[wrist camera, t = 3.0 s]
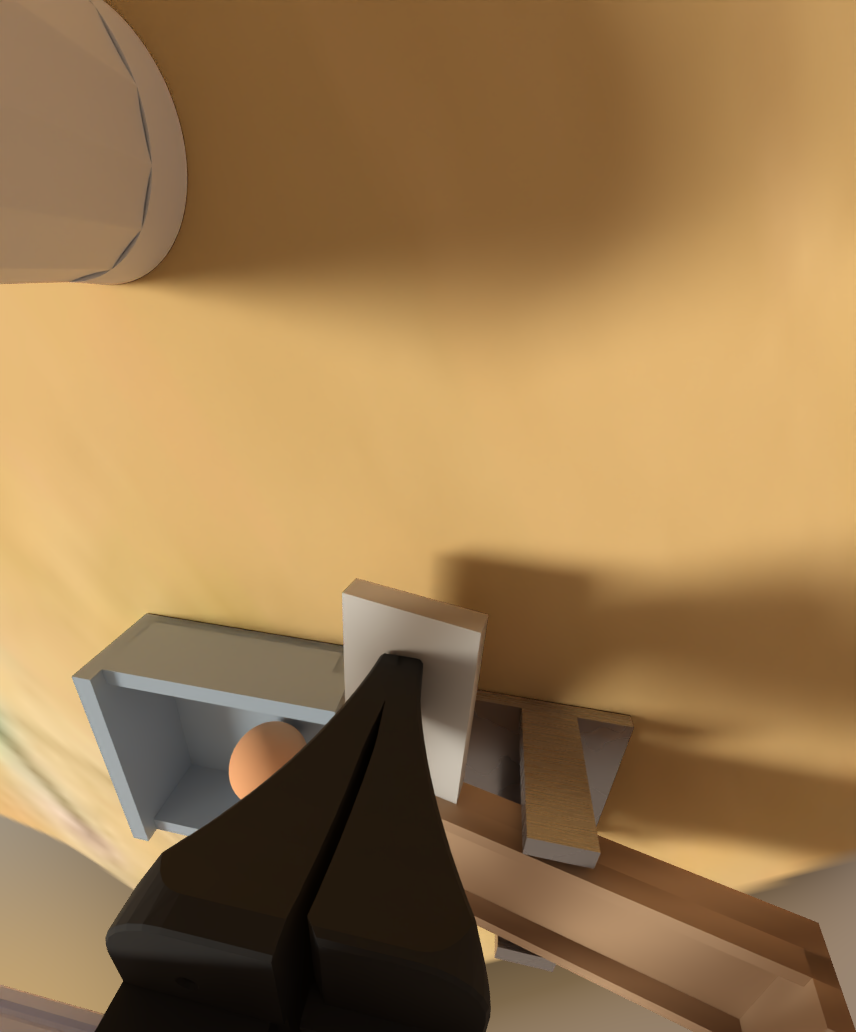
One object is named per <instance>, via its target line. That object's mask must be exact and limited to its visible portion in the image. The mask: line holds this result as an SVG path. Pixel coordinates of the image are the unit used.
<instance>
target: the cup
mask: <svg viewBox="0 0 856 1032" xmlns="http://www.w3.org/2000/svg"><path fill="white" fill-rule="evenodd" d="M186 196H187V162H186V152H185V146H184V140H183V135H182V130H181V126H180V122H179V119H178V115H177V112H176V109H175V106H174V103H173V100H172V98H171V95H170V93H169V90H168V88H167V86H166V83H165V81H164V79H163V77H162V75H161V73H160V71H159V69H158V67H157V65H156V63H155V62H154V60H153V58H152V57H151V55H150V53H149V52H148V50H147V49H146V47H145V46H144V44H143V43H142V41H141V40H140V39H139V37H138V36H137V35H136V33H135V32H134V31H133V30H132V28H131V27H130V26H129V25H128V24H127V22H126V21H125V20H124V19H123V18H122V17H121V16H120V15H119V14H118V13H117V12H116V11H115V10H114V9H113V8H112V7H111V6H109V5H108V4H107V3H106V2H105V1H103V0H0V284H18V283H53V282H75V283H90V284H106V285H114V284H122V283H127V282H131V281H134V280H136V279H138V278H140V277H142V276H144V275H146V274H147V273H149V272H150V271H152V270H153V269H154V268H155V267H156V266H157V265H158V264H159V263H160V262H161V261H162V260H163V259H164V257H165V256H166V255H167V253H168V252H169V250H170V249H171V247H172V245H173V243H174V241H175V239H176V237H177V235H178V232H179V229H180V226H181V223H182V219H183V215H184V210H185V204H186Z"/></svg>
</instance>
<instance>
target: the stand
mask: <svg viewBox="0 0 856 1032" xmlns="http://www.w3.org/2000/svg"><path fill="white" fill-rule="evenodd" d="M633 729H634V726H633V723H632V719H631V716H628V715H622V714H616V713H610V712H604V711H598V710H592V709H586V708H581V707H575V706H569V705H563V704H557V703H551V702H545V701H540V700H534V699H528V698H522V697H516V696H510V695H504V694H499V693H493V692H487V691H481V690H477V695H476V701H475V708H474V715H473V721H472V728H471V735H470V741H469V748H468V755H467V762H466V768H465V775H464V782H465V783H467V784H470V785H472V786H475V787H477V788H480V789H482V790H485V791H487V792H490V793H493V794H495V795H498V796H500V797H503V798H505V799H508V800H510V801H513V802H515V803H518V804H520V805H521V815H522V848H523V854H526V855H530V856H535V857H540V858H545V859H549V860H554V861H559V862H563V863H568V864H573V865H578V866H582V867H587V868H592V869H594V868H595V866H596V863H597V861H598V858H599V856H600V853H601V852H600V846H599V840H598V835H597V829H596V826H597V824H598V821H599V818H600V816H601V813H602V810H603V808H604V805H605V803H606V800H607V797H608V795H609V792H610V789H611V787H612V784H613V781H614V779H615V776H616V773H617V771H618V768H619V766H620V763H621V760H622V758H623V755H624V752H625V750H626V747H627V744H628V742H629V739H630V736H631V734H632V731H633ZM495 958H497V959H501V960H506V961H510V962H514V963H518V964H522V965H526V966H530V967H535V968H539V969H543V970H547V971H551V972H553V970H554V967H555V965H556V964H555V963H553V962H551V961H549V960H547V959H545V958H543V957H541V956H539V955H537V954H535V953H532V952H530V951H528V950H526V949H524V948H522V947H520V946H518V945H516V944H514V943H512V942H510V941H508V940H506V939H504V938H502V937H500V936H498V935H496V934H495Z"/></svg>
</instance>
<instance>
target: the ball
mask: <svg viewBox="0 0 856 1032" xmlns="http://www.w3.org/2000/svg"><path fill="white" fill-rule="evenodd" d="M305 745H306V741H305V739H304V737H303V736H302V734H301V733H300V732H299V731H298V730H297V729H296V728H295V727H293V726H292V725H290V724H288V723H285V722H280V721H271V722H266V723H262V724H260V725H257V726H256V727H254V728H252V729H251V730H249V731H248V732H247V733H246V734H245V735H244V736H243V737H242V738H241V739H240V740H239V742H238V743H237V745H236V747H235V748H234V750H233V753H232V755H231V759H230V763H229V779H230V784H231V786H232V789H233V790H234V792H235V794H236V795H237V796H238V797H239V798H240V799H242V798H244V797H245V796H246V795H248V794H249V793H251V792H252V791H253V790H254V789H256V788H257V787H258V786H259V785H261V784H262V783H263V782H264V781H266V780H267V779H268V778H269V777H270V776H272V775H273V774H274V773H275V772H276V771H277V770H279V769H280V768H281V767H282V766H283V765H285V764H286V763H287V762H288V761H289V760H290V759H291V758H292V757H293V756H295V755H296V754H297V753H298V752H299V751H300V750H301V749H302V748H303V747H304V746H305Z"/></svg>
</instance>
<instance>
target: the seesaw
mask: <svg viewBox="0 0 856 1032" xmlns="http://www.w3.org/2000/svg"><path fill="white" fill-rule="evenodd" d="M342 607H343V643H344V679H345V702H346V701H347V700H348V699H349V698H350V696H351V695H352V694H353V693H354V692H355V690H356V689H357V688H358V687H359V685H360V684H361V683H362V681H363V680H364V679H365V677H366V676H367V675H368V673H369V672H370V671H371V669H372V668H373V666H374V665H375V663H376V662H377V660H378V659H379V657H380V656H381V655H382V654H384V653H386V654H392V655H398V656H405V657H411V658H417V659H420V660H421V661H422V663H423V674H422V687H421V715H422V726H423V734H424V741H425V747H426V754H427V759H428V765H429V770H430V775H431V779H432V784H433V788H434V793H435V797H436V801H437V805H438V809H439V812H440V816H441V819H442V823H443V826H444V830H445V833H446V836H447V840H448V843H449V846H450V850H451V853H452V856H453V859H454V862H455V865H456V868H457V871H458V874H459V877H460V880H461V882H462V885H463V888H464V890H465V893H466V896H467V899H468V901H469V904H470V906H471V909H472V912H473V914H474V917H475V920H476V923H477V925H478V926H480V927H482V928H484V929H486V930H488V931H490V932H492V933H494V934H496V935H498V936H500V937H502V938H504V939H506V940H508V941H510V942H512V943H514V944H516V945H518V946H520V947H522V948H524V949H526V950H528V951H530V952H532V953H535V954H537V955H539V956H541V957H543V958H545V959H547V960H549V961H551V962H553V963H555V964H557V965H559V966H561V967H563V968H565V969H567V970H569V971H571V972H573V973H575V974H577V975H579V976H581V977H583V978H585V979H587V980H589V981H591V982H593V983H595V984H598V985H600V986H602V987H604V988H606V989H608V990H610V991H612V992H614V993H616V994H618V995H620V996H622V997H624V998H626V999H628V1000H630V1001H632V1002H634V1003H636V1004H638V1005H640V1006H642V1007H644V1008H646V1009H649V1010H650V1011H652V1012H654V1013H656V1014H659V1015H661V1016H663V1017H665V1018H667V1019H669V1020H671V1021H673V1022H675V1023H677V1024H679V1025H681V1026H683V1027H685V1028H687V1029H689V1030H691V1031H693V1032H856V1030H855V1028H854V1025H853V1022H852V1019H851V1016H850V1013H849V1010H848V1007H847V1004H846V1002H845V999H844V996H843V993H842V990H841V987H840V985H839V981H838V978H837V976H836V973H835V970H834V967H833V964H832V961H831V958H830V955H829V953H828V950H827V947H826V944H825V941H824V938H823V935H822V933H821V929H820V927H819V923H817V922H815V921H812V920H810V919H807V918H805V917H802V916H800V915H797V914H794V913H792V912H790V911H787V910H785V909H782V908H780V907H777V906H775V905H772V904H769V903H767V902H764V901H762V900H759V899H757V898H754V897H752V896H749V895H747V894H744V893H742V892H739V891H737V890H734V889H732V888H729V887H727V886H724V885H722V884H719V883H717V882H714V881H712V880H709V879H707V878H704V877H701V876H699V875H696V874H694V873H691V872H689V871H686V870H684V869H681V868H679V867H676V866H674V865H671V864H669V863H666V862H664V861H661V860H659V859H656V858H654V857H651V856H649V855H646V854H644V853H641V852H639V851H636V850H634V849H631V848H628V847H626V846H623V845H621V844H618V843H616V842H613V841H611V840H608V839H606V838H603V837H601V836H598V840H599V846H600V852H601V853H600V856H599V858H598V861H597V863H596V866H595V868H594V869H592V868H587V867H582V866H578V865H573V864H568V863H563V862H559V861H554V860H549V859H545V858H540V857H535V856H530V855H526V854H523V848H522V815H521V805H520V804H518V803H515V802H513V801H510V800H508V799H505V798H503V797H500V796H498V795H495V794H493V793H490V792H487V791H485V790H482V789H480V788H477V787H475V786H472V785H470V784H467V783H465V782H464V775H465V768H466V762H467V755H468V748H469V741H470V735H471V728H472V721H473V715H474V708H475V701H476V695H477V688H478V681H479V675H480V668H481V661H482V655H483V648H484V641H485V634H486V628H487V621H488V614H484V613H480V612H477V611H473V610H470V609H466V608H462V607H459V606H455V605H451V604H448V603H444V602H441V601H437V600H433V599H430V598H426V597H422V596H419V595H415V594H412V593H408V592H404V591H401V590H397V589H394V588H390V587H386V586H383V585H379V584H375V583H372V582H368V581H365V580H361V579H357V578H356V579H355V580H354V581H353V582H352V583H351V584H350V585H349V586H348V587H347V588H346V589H345V590H344V591H343V592H342Z"/></svg>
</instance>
